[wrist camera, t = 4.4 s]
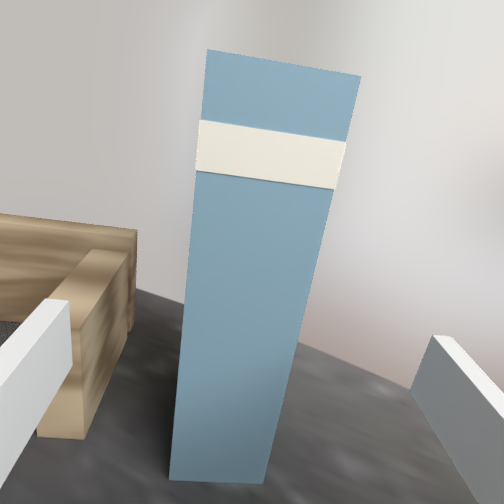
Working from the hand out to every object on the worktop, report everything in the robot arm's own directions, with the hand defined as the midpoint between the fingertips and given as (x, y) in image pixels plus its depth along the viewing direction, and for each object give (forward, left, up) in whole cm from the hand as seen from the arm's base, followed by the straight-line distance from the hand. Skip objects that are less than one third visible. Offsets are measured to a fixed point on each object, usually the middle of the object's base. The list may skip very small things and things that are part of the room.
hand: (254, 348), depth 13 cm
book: (-3, +9, -14) cm, 17 cm away
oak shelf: (-21, +8, -14) cm, 26 cm away
